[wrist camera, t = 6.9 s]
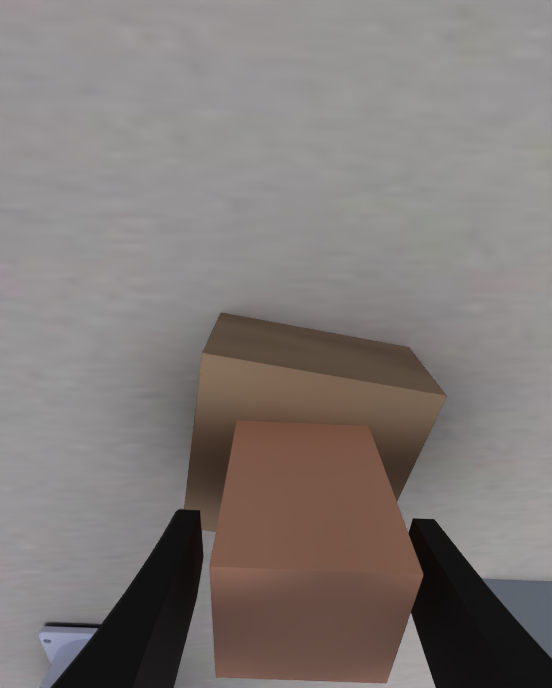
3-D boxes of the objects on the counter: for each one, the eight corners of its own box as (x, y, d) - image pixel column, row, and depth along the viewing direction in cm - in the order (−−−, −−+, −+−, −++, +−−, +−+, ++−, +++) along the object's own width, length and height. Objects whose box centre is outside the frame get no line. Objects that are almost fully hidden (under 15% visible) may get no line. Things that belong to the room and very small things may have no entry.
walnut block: (354, 480, 18) (372, 553, 15) (202, 456, 18) (182, 526, 14) (406, 344, 15) (447, 395, 11) (221, 310, 14) (202, 353, 11)
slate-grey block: (526, 623, 23) (587, 731, 18) (458, 620, 23) (502, 728, 18) (551, 580, 21) (626, 689, 17) (477, 577, 21) (531, 685, 17)
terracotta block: (351, 518, 14) (386, 683, 9) (237, 514, 14) (215, 677, 9) (368, 425, 12) (423, 575, 7) (236, 420, 12) (209, 566, 7)
